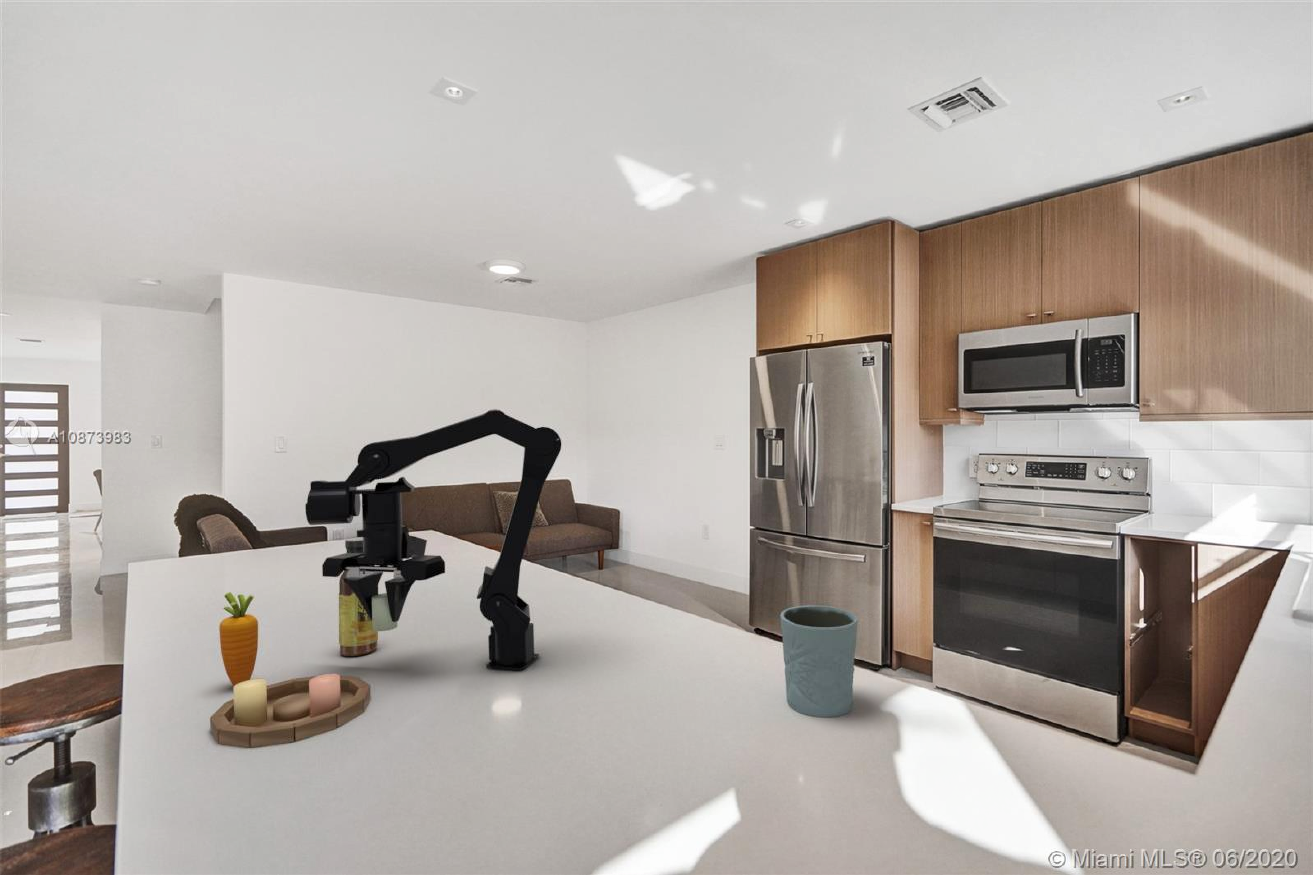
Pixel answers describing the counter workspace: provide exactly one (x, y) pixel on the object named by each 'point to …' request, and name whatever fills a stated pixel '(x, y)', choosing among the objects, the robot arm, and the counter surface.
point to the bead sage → (381, 614)
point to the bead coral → (324, 694)
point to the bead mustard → (250, 703)
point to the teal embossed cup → (819, 659)
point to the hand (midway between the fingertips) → (385, 620)
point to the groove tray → (294, 728)
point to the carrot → (239, 640)
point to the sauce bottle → (354, 615)
